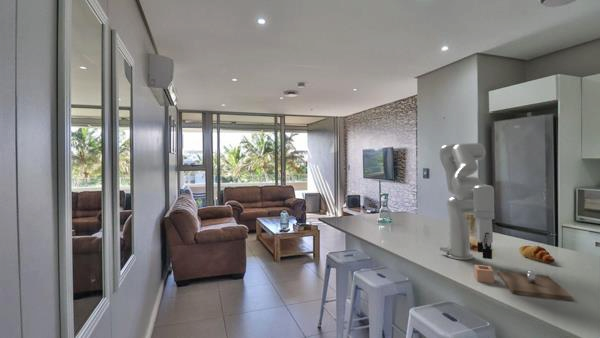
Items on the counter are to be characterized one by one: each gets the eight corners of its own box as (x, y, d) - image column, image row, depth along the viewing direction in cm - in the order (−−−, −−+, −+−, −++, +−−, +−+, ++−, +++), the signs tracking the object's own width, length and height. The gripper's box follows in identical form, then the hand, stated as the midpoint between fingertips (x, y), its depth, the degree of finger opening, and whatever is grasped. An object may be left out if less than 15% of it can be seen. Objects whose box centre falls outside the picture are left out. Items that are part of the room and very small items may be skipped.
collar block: (477, 281, 124) (477, 269, 124) (474, 276, 129) (474, 264, 129) (493, 283, 122) (493, 271, 122) (490, 277, 127) (490, 266, 127)
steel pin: (528, 283, 117) (528, 271, 117) (526, 280, 120) (526, 269, 119) (536, 284, 117) (536, 272, 116) (533, 281, 119) (533, 270, 119)
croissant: (515, 258, 161) (508, 245, 161) (531, 249, 161) (524, 236, 161) (548, 272, 140) (540, 257, 140) (566, 261, 140) (558, 246, 140)
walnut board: (512, 293, 112) (512, 289, 112) (497, 274, 131) (497, 271, 131) (572, 300, 106) (572, 296, 106) (548, 279, 124) (548, 275, 124)
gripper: (469, 211, 134) (470, 249, 134) (477, 217, 118) (478, 260, 118) (489, 212, 131) (489, 250, 131) (500, 218, 115) (500, 262, 115)
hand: (484, 255), depth 124 cm, fingers open, 9 cm apart
